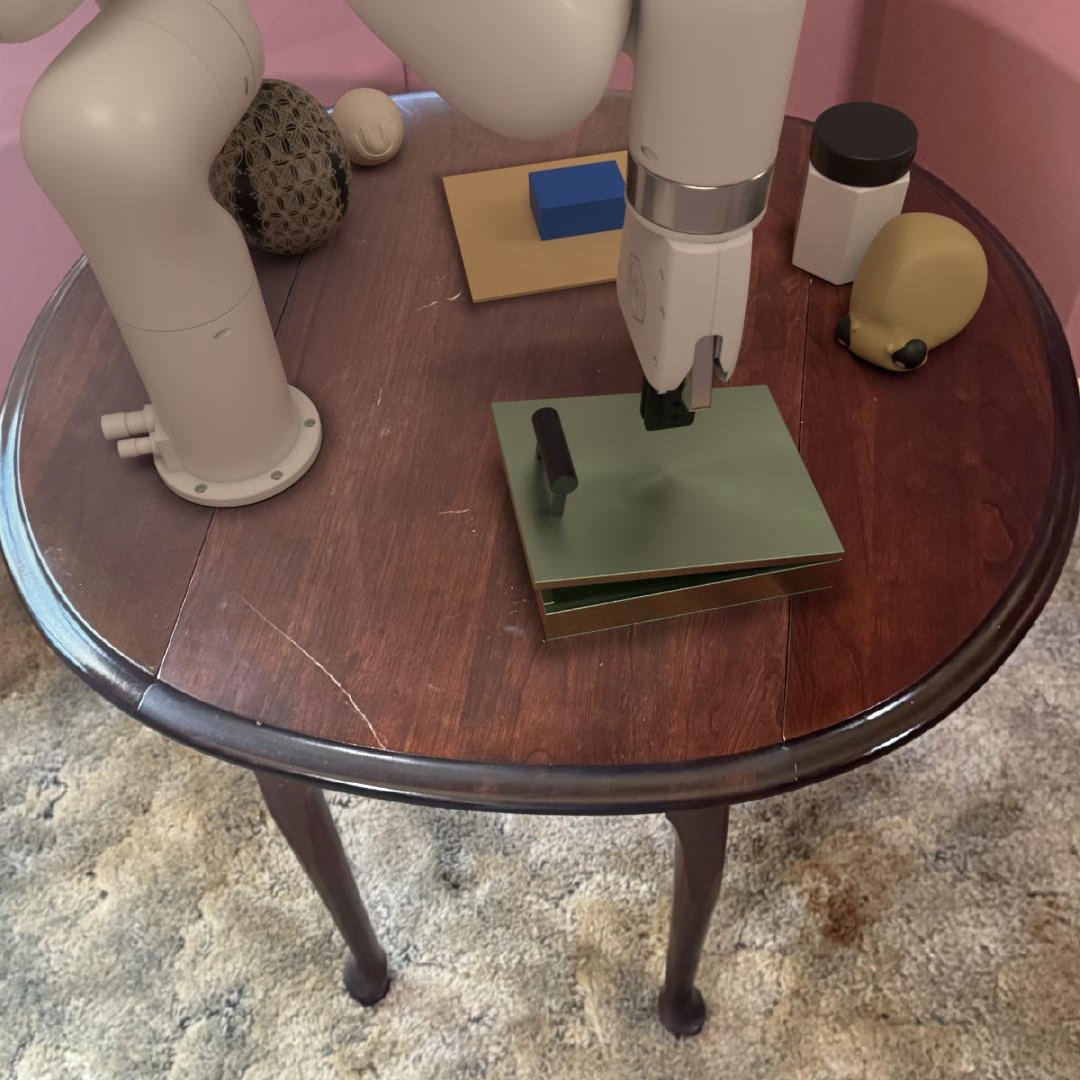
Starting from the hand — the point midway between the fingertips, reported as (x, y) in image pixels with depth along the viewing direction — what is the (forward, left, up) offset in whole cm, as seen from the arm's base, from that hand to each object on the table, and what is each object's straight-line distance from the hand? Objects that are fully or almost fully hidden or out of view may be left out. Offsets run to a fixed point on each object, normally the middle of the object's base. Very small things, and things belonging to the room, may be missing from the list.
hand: (666, 419), depth 72 cm
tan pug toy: (+24, +13, -10) cm, 29 cm away
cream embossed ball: (-15, +48, -10) cm, 52 cm away
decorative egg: (-23, +37, -10) cm, 45 cm away
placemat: (+2, +34, -10) cm, 36 cm away
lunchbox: (0, -2, -10) cm, 10 cm away
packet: (+2, +34, -9) cm, 36 cm away
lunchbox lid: (-1, -2, -4) cm, 5 cm away
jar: (+23, +24, -10) cm, 35 cm away
